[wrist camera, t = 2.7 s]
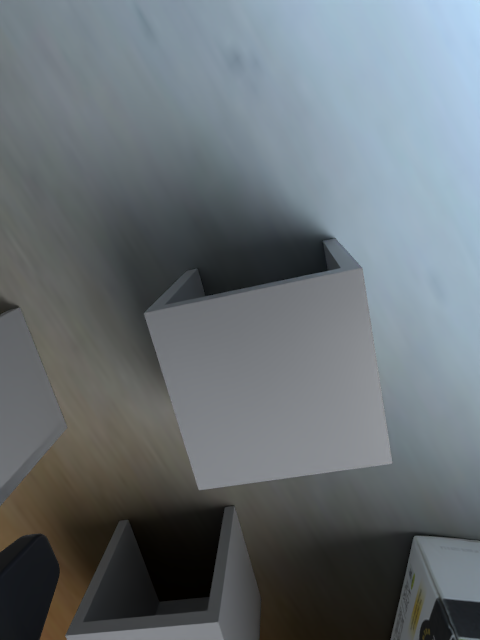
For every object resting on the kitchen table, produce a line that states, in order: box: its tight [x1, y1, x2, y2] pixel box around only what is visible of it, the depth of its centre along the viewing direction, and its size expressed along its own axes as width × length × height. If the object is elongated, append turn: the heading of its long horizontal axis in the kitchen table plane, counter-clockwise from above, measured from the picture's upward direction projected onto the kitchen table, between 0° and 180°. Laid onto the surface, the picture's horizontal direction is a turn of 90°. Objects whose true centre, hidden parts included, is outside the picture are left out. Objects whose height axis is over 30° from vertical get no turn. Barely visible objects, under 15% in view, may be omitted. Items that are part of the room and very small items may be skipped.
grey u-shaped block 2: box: [144, 238, 393, 490], centre depth 16 cm, size 6×6×6 cm
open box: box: [65, 506, 261, 640], centre depth 20 cm, size 6×6×6 cm
